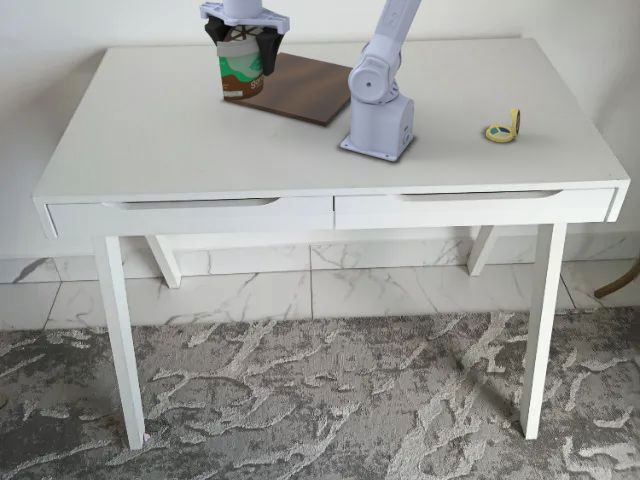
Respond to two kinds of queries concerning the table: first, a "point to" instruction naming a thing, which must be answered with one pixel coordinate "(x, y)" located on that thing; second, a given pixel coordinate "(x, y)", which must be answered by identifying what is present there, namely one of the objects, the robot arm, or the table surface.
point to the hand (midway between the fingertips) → (248, 68)
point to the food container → (240, 63)
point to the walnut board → (303, 89)
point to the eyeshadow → (505, 129)
